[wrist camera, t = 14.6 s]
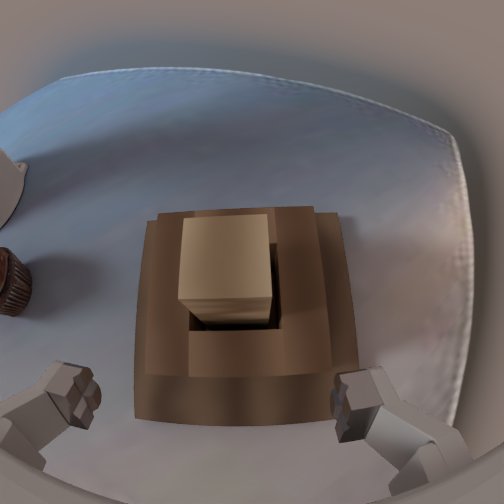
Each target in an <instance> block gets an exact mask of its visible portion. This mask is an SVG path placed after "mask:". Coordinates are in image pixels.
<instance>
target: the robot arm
mask: <svg viewBox="0 0 504 504" xmlns="http://www.w3.org/2000/svg"><path fill="white" fill-rule="evenodd" d="M27 169H28V165H27V164H26V163H14V162H13V161H12V160H11V159H10V157H9V156H8V155H7V154H6V153H5V152H4V151H3V150H2V149H1V148H0V228H1V227H2V226H3V225H4V223H5V222H6V221H7V220H8V218H9V217H10V215H11V214H12V212H13V211H14V209H15V207H16V205H17V203H18V201H19V199H20V196H21V194H22V191H23V186H24V177H25V174H26V171H27ZM93 376H94V375H93V373H92V371H91V369H90V368H88V367H84V366H79V365H75V364H71V363H66V362H61V361H57V360H56V361H53V362H52V363H51V365H50V366H49V367H48V369H47V370H46V371H45V373H44V374H43V375H42V377H41V378H40V379H39V381H38V382H37V384H36V385H35V386H34V387H29V388H28V389H26V390H24V391H22V392H20V393H18V394H16V395H14V396H12V397H10V398H8V399H6V400H4V401H2V402H0V504H128V503H124V502H120V501H117V500H113V499H110V498H107V497H104V496H101V495H98V494H95V493H92V492H89V491H86V490H84V489H81V488H79V487H76V486H73V485H71V484H69V483H66V482H64V481H62V480H59V479H57V478H55V477H53V476H51V475H49V474H47V473H44V472H42V471H43V468H44V466H45V464H46V460H45V458H44V457H43V456H42V455H41V454H40V453H39V452H38V451H39V450H41V449H42V448H43V447H45V446H46V445H47V444H48V443H50V442H51V441H52V440H53V439H55V438H56V437H57V436H58V435H60V434H61V433H62V432H63V431H65V430H66V429H67V428H68V427H69V425H70V426H74V427H77V428H81V429H85V430H88V429H89V426H90V424H91V422H92V420H93V418H94V416H93V411H95V410H96V409H98V407H99V405H100V403H101V390H100V387H99V385H98V384H97V383H96V382H95V381H94V380H93V379H92V378H93ZM333 382H334V385H335V388H334V389H333V390H332V391H331V395H330V410H331V414H332V417H333V418H334V419H336V420H337V423H336V426H335V430H336V433H337V437H338V441H339V443H345V442H351V441H357V440H362V439H364V441H365V442H367V443H368V444H369V445H370V446H371V447H372V448H373V449H375V450H376V451H377V452H378V453H379V454H380V455H381V456H383V457H384V458H385V459H386V460H387V461H388V462H390V463H391V464H392V465H393V466H394V467H395V468H397V469H398V470H399V473H398V474H397V475H396V476H395V477H394V478H393V479H392V480H391V482H390V483H389V484H388V486H389V490H390V493H391V497H388V498H385V499H382V500H378V501H375V502H371V503H367V504H504V442H503V443H501V444H500V445H498V446H497V447H495V448H494V449H492V450H491V451H489V452H487V453H486V454H484V455H482V456H481V457H479V458H477V459H476V460H474V459H473V457H472V455H471V453H470V452H469V450H468V448H467V446H466V444H465V442H464V440H463V438H462V437H461V435H460V433H459V431H458V430H456V429H454V428H453V427H451V426H449V425H447V424H445V423H444V422H442V421H440V420H438V419H436V418H435V417H433V416H431V415H429V414H428V413H426V412H424V411H422V410H421V409H419V408H417V407H415V406H414V405H412V404H410V403H409V402H407V401H405V400H402V401H400V399H399V397H398V395H397V393H396V391H395V390H394V388H393V386H392V384H391V382H390V380H389V378H388V376H387V374H386V372H385V371H384V369H383V367H381V366H378V367H373V368H367V369H360V370H354V371H347V372H340V373H336V375H335V377H334V381H333Z"/></svg>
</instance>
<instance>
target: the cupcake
mask: <svg viewBox="0 0 504 504" xmlns="http://www.w3.org/2000/svg"><path fill="white" fill-rule="evenodd" d="M31 286H32V277H31V274H30V272H29V270H28V269H27V268H26V267H25V266H24V265H23V264H22V263H21V262H20V261H19V259H18V258H17V257H16V256H15V255H14V254H13V253H12V252H11V250H9V249H8V248H5V247H0V314H3V315H8V316H12V317H13V316H14V315H17V314H19V313H21V312H22V311H23V310H24V309H25V307H26V306H27V304H28V301H29V299H30V295H31V291H32V288H31Z"/></svg>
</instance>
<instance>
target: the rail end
mask: <svg viewBox="0 0 504 504" xmlns="http://www.w3.org/2000/svg"><path fill="white" fill-rule="evenodd" d="M178 300H179V301H180V302H181V303H182V304H184V305H185V306H186V307H187V308H188V309H189V310H190V311H191V312H192V313H193V314H194V315H195V316H196V317H197V318H198V319H199V320H201V321H202V322H203V323H204V324H205V325H206V326H207V327H208V328H209V329H210V330H211V331H243V330H267V327H268V321H269V314H270V308H271V301H272V285H271V268H270V252H269V236H268V221H267V214H256V215H233V216H214V217H197V218H184V222H183V233H182V244H181V257H180V271H179V288H178Z"/></svg>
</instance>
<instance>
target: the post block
mask: <svg viewBox="0 0 504 504" xmlns="http://www.w3.org/2000/svg"><path fill="white" fill-rule="evenodd" d="M256 214H267V221H268V236H269V252H270V268H271V285H272V301H271V308H270V314H269V321H268V327H267V330H243V331H211V330H210V329H209V328H208V327H207V326H206V325H205V324H204V323H203V322H202V321H201V320H199V319H198V318H197V317H196V316H195V315H194V314H193V313H192V312H191V311H190V310H189V309H188V308H187V307H186V306H185V305H184V304H182V303H181V302H180V301H179V300H178V288H179V271H180V257H181V244H182V233H183V222H184V218H197V217H214V216H233V215H256ZM354 370H359V361H358V349H357V338H356V328H355V319H354V311H353V303H352V296H351V288H350V282H349V275H348V269H347V262H346V256H345V251H344V245H343V239H342V234H341V229H340V224H339V219H338V214H337V213H314V208H313V206H298V207H264V208H240V209H220V210H203V211H187V212H173V213H160V214H158V218H157V220H155V221H147V228H146V234H145V241H144V248H143V255H142V263H141V272H140V281H139V291H138V302H137V315H136V331H135V355H134V407H135V418H137V419H143V420H151V421H158V422H167V423H177V424H189V425H206V426H268V425H285V424H297V423H307V422H316V421H324V420H331V419H334V418H333V417H332V414H331V410H330V395H331V391H332V390H333V389H334V388H335V385H334V382H333V381H334V377H335V375H336V373H340V372H347V371H354Z"/></svg>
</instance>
